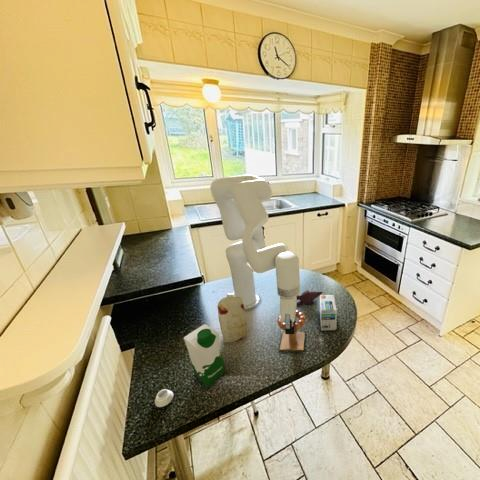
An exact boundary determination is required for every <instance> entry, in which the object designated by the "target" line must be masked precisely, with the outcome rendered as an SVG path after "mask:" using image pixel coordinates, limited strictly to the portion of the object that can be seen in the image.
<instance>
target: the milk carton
mask: <svg viewBox="0 0 480 480" xmlns="http://www.w3.org/2000/svg"><path fill="white" fill-rule="evenodd" d="M183 341H184V343H185V346H186V348H187V349H186V350H187V352H188V355H189V359H190V362H191V366H192V370H193V373H194V376H195V377H196V378H197V379H198V380H199V382H201V383H202V384H203V385H205V386H206V388H210V387H211V386H212V385H213V384H214V383H215V382H216V381H218V380H219V379H220V378H221V377H223V373H225V371H226V366H225V361H224V357H223V352H222V347H221V343H220V333H219V332H218V331H217V330H215V329H213V328H212V327H211V326H210V325H209V326H208V325H207V324H206V323H203V324H201V326H199V327H198V328H196V329H195V330H193V331H191V332H189V333H188V334H187V335H186V336H183Z"/></svg>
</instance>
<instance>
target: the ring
mask: <svg viewBox="0 0 480 480" xmlns="http://www.w3.org/2000/svg"><path fill="white" fill-rule="evenodd" d="M295 318H297V319H298V321H296V323H295V324H293V325H294V331H296V332H297V331H299V330H301V329H302V328H303V327H304V325H305V324H306V316H305V314H304V313H303V311H301V310H298V309H296V314H295ZM276 323H277V325H278V327H279V328H280V329H281V330H282V331H285V321H284V323H281V322H280V314H279V315H278V317H277V321H276Z"/></svg>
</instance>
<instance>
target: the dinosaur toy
mask: <svg viewBox="0 0 480 480" xmlns="http://www.w3.org/2000/svg"><path fill="white" fill-rule="evenodd" d="M323 294H324V292H323V291H309V290H308V289H306V290H305V291H303V292H302V293H301V294H300V295H299V294H298V295H297V306H296V307H300V306H302V305H312V304H313V301H315V300H316V299H317V298H318V297H320V295H323Z"/></svg>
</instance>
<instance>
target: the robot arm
mask: <svg viewBox="0 0 480 480" xmlns="http://www.w3.org/2000/svg"><path fill="white" fill-rule="evenodd" d="M209 189H210V193H211V197H212V199H213V201H214V202H215V204H216V206H217V208H218V210H219V213H220V219H221V222H222V227H223V231H224V232H223V233H224V235H225V237H226V239H227V240H228V241H231V242H232V241H233V242H234V241H237V242H234V243H231V244H229V245H228V246H227V247H226V248H225V257H226V259H227V262H228V265H229V271H230V274H231V275H230V276H231V280H232V281H231V282H232V286H233V293H226V297H229V296H231V297H241V298H242V300H243V304H244V308H245V310H246V309H251V308H253V307H254V306H256V305H258V303H259V302H260V301H261V299H260V298H261V297H260V296H259V294H257V293H256V292H257V291H256V285H255V277H254V272H255V273H256V274H263V273H266V272H269V271H271V270H274V269H275V279H276V290H277V291H276V292H277V293H276V294H277V296H279V315H280V322H281V323H284V322H285V330H284V332H285V334H294V333H295V331H294V325H293V324H295V320H296V316H295V314H296V310H297V307H298V306H297V302H298V300H297V295H298V296H299V295H300V293H301V282H300V258H299V256H298V254H296V253H295V252H292V250H291V249H290V248H289V246H288V245H287V244H285V243H282V242H280V243H276V244H274V245H270V246H267V245H266V239H265V235H264V234H265V233H264V229H263V226H264V225H266V223H267V222H268V221H269V214H268V212H267V211H266V209H265V206H264V204H263V203H264V202H269V201H270V200H271V199H272V196H273V191H272V190H273V189H272V188H271V185H270V184H269V182H267V180H265V179H264V178H262V177H259V176H257V175H253V174H240V175H233V176H224V177H219V178H216V179H214V180H212V181H211V183H210V188H209ZM239 240H240V241H239Z"/></svg>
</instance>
